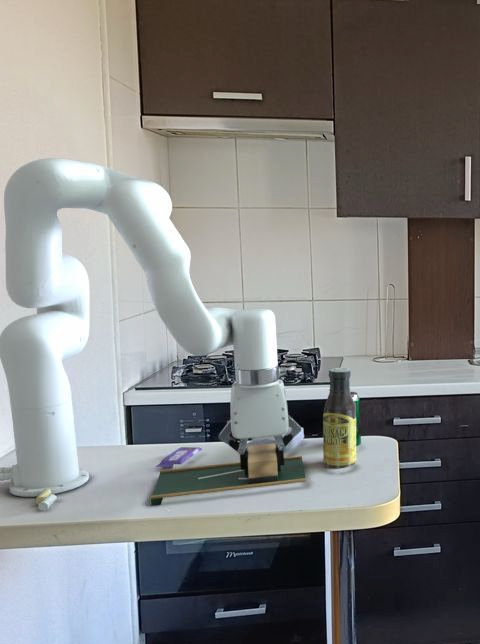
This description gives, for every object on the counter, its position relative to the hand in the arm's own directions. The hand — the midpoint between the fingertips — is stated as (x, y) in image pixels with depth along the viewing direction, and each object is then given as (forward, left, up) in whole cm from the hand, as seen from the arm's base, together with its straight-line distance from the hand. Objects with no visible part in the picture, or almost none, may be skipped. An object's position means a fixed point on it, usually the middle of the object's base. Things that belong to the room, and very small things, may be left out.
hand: (262, 469), depth 140 cm
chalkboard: (-6, 0, -2) cm, 6 cm away
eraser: (0, 0, -1) cm, 1 cm away
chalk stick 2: (-35, -1, -1) cm, 35 cm away
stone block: (+2, +18, -2) cm, 18 cm away
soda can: (+17, +13, -2) cm, 22 cm away
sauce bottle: (+14, +1, -2) cm, 15 cm away
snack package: (-16, +16, -2) cm, 22 cm away
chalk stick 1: (-37, +2, -1) cm, 37 cm away
